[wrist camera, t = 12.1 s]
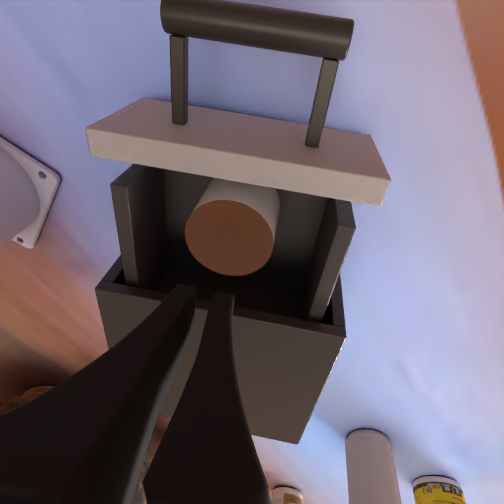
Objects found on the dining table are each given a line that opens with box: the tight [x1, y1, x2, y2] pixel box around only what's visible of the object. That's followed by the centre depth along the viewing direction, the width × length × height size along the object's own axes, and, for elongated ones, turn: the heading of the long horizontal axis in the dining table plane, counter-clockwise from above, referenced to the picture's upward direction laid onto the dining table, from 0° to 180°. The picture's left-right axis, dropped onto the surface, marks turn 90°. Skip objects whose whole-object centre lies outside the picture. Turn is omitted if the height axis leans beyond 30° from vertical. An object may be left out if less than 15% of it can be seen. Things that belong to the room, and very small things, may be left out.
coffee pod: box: [185, 178, 280, 276], centre depth 18 cm, size 4×4×4 cm
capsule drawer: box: [86, 0, 391, 323], centre depth 17 cm, size 16×12×6 cm
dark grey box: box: [95, 255, 346, 444], centre depth 24 cm, size 12×13×7 cm
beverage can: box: [345, 429, 402, 504], centre depth 32 cm, size 5×5×12 cm
